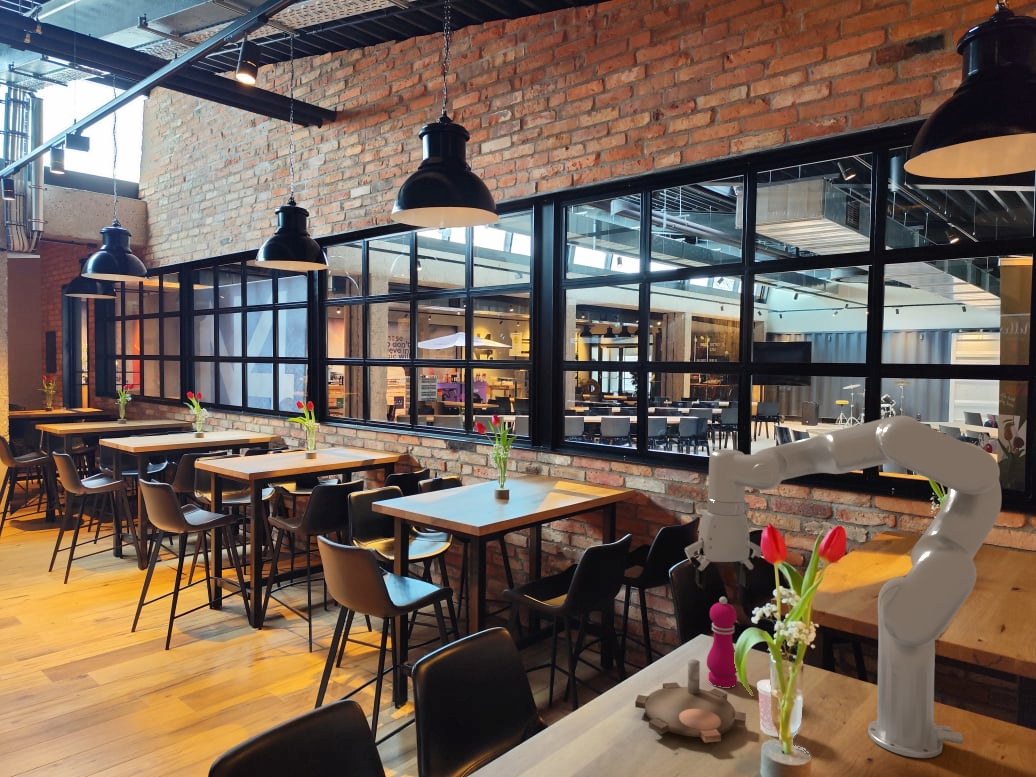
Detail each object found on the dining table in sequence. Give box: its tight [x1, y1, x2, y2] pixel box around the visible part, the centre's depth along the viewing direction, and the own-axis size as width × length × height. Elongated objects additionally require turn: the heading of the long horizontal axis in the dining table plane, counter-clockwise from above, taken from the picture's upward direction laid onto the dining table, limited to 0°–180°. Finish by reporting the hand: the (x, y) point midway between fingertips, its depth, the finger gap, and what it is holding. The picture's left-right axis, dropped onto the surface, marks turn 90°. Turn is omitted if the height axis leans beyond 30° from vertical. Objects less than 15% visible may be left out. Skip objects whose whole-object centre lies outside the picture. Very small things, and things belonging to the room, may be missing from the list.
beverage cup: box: [756, 679, 779, 738], centre depth 136 cm, size 6×6×14 cm
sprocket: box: [634, 658, 747, 743], centre depth 140 cm, size 22×20×8 cm
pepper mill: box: [706, 596, 738, 687], centre depth 157 cm, size 7×7×20 cm
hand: (722, 586), depth 147 cm, fingers open, 9 cm apart
